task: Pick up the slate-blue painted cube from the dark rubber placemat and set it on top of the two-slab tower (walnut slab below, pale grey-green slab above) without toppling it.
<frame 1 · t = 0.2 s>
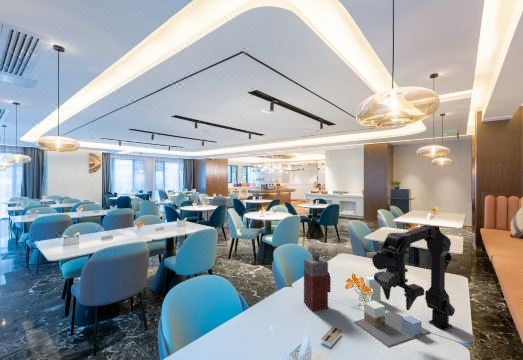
hand: (397, 304, 101), 14 cm above the table, fingers open, 9 cm apart
skincare box: (373, 301, 133), on the table
cube: (411, 331, 106), resting on placemat
dark red bottle: (317, 305, 128), on the table
tower base: (374, 322, 113), resting on placemat, touching tower mid
tower mid: (374, 313, 113), point 4 cm above the table, touching tower base
placemat: (390, 327, 109), on the table
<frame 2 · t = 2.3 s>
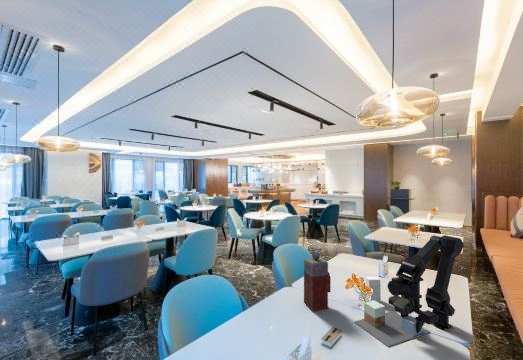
hand: (411, 329, 106), 1 cm above the table, fingers closed on cube, 5 cm apart
cube: (411, 331, 106), resting on placemat, touching gripper
everything else where it was.
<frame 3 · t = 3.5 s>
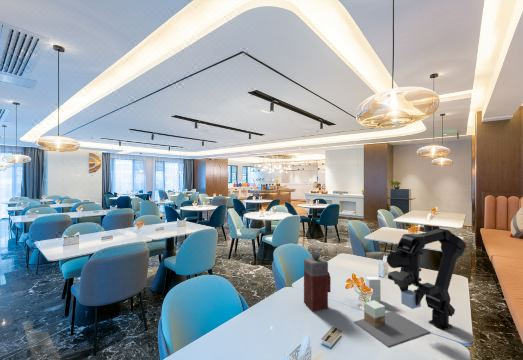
hand: (411, 302, 106), 12 cm above the table, fingers closed on cube, 5 cm apart
cube: (410, 304, 106), point 11 cm above the table, touching gripper
everything else where it was.
when the fingers open (11 cm above the table, at t = 5.1 s): cube drops 1 cm, resting on tower mid.
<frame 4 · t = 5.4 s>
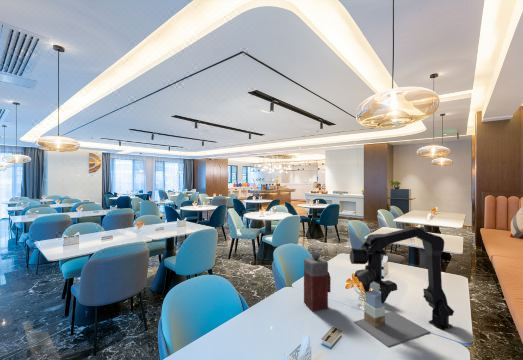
hand: (374, 299, 112), 11 cm above the table, fingers open, 8 cm apart
cube: (374, 304, 112), point 8 cm above the table, touching tower mid
tower mid: (374, 313, 113), point 4 cm above the table, touching cube, tower base
everything else where it was.
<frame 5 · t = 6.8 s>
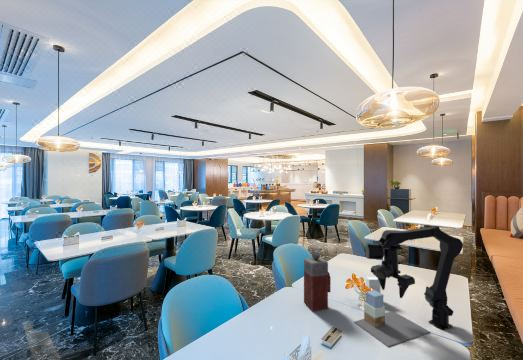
hand: (391, 293, 114), 12 cm above the table, fingers open, 9 cm apart
nothing on the table moved.
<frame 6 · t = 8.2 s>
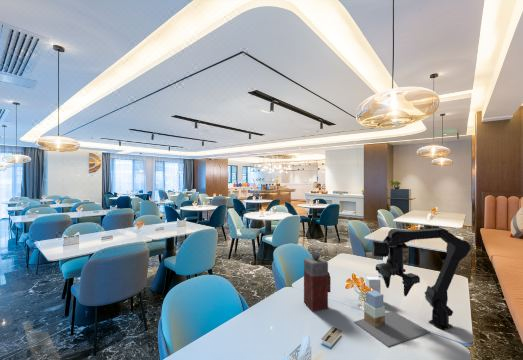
hand: (396, 291, 115), 13 cm above the table, fingers open, 9 cm apart
nothing on the table moved.
at the end: cube 0.1 cm off-centre on the tower base, point 8.0 cm above the tower base's base; tower mid tilted 0°; the gripper is holding nothing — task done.
